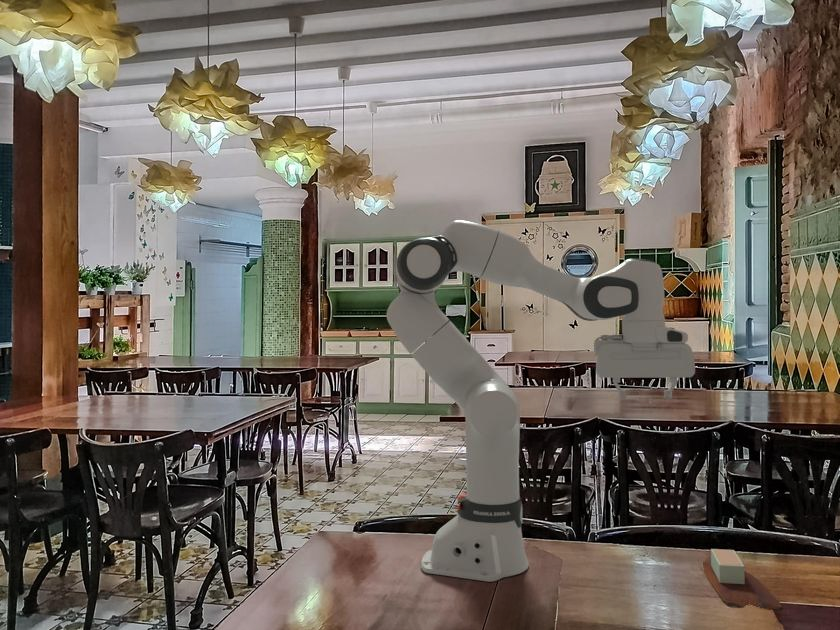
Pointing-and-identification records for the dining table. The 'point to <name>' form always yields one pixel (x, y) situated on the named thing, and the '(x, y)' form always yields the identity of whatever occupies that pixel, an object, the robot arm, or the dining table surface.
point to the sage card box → (727, 566)
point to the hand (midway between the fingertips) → (644, 398)
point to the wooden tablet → (742, 591)
